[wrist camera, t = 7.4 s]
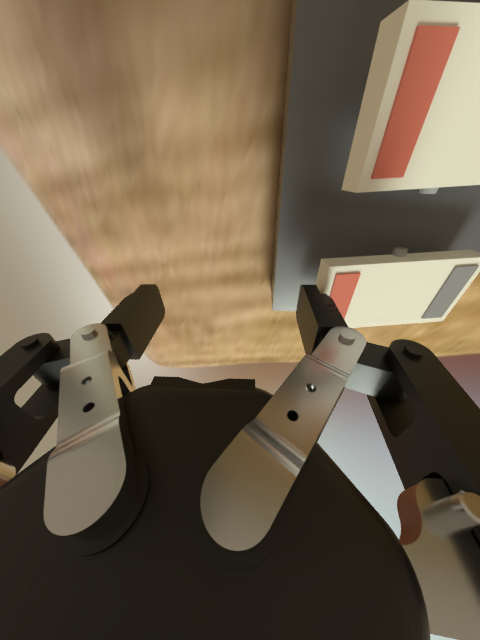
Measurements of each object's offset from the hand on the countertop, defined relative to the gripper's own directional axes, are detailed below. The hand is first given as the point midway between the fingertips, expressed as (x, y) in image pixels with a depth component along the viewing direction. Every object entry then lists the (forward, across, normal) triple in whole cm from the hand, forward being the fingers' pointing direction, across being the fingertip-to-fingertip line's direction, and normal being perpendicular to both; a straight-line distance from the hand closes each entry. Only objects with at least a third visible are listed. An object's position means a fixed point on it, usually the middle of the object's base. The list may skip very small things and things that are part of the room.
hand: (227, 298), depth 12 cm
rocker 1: (+1, -9, -7) cm, 11 cm away
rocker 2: (+1, -9, 0) cm, 9 cm away
